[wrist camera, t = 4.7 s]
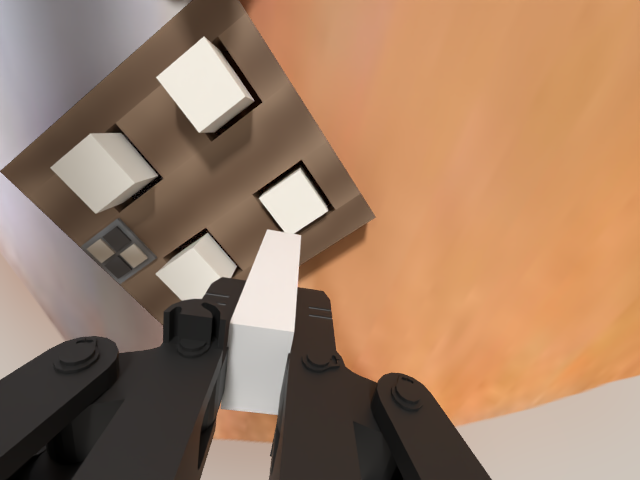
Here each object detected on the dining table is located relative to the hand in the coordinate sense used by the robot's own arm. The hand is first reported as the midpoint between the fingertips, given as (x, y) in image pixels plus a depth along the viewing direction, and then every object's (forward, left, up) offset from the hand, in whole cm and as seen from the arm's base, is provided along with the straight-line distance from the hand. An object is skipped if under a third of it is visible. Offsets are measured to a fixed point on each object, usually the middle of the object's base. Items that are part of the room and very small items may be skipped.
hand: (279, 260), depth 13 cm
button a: (-10, -10, -13) cm, 19 cm away
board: (-5, -6, -15) cm, 17 cm away
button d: (0, 0, -15) cm, 15 cm away
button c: (-10, 0, -13) cm, 16 cm away
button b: (0, -10, -13) cm, 16 cm away
